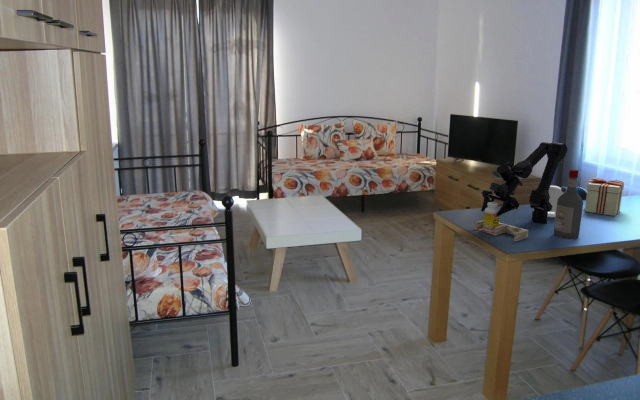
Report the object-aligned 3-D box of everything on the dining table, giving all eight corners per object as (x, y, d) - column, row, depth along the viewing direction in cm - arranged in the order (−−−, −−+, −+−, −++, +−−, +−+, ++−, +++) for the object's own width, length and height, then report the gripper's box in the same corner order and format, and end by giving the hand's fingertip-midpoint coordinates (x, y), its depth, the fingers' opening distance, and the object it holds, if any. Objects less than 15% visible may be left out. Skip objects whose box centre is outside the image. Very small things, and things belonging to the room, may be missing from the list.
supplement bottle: (492, 233, 242) (495, 205, 238) (480, 229, 246) (482, 203, 243) (500, 230, 246) (503, 203, 243) (488, 227, 251) (490, 200, 247)
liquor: (566, 239, 234) (574, 172, 227) (550, 234, 242) (557, 168, 235) (581, 237, 238) (590, 171, 230) (565, 231, 246) (573, 167, 238)
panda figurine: (563, 213, 276) (567, 184, 273) (562, 218, 267) (565, 189, 263) (539, 210, 282) (542, 182, 278) (536, 215, 272) (539, 186, 268)
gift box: (620, 209, 285) (625, 177, 281) (618, 217, 270) (622, 183, 265) (585, 204, 294) (589, 174, 289) (581, 212, 279) (585, 179, 274)
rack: (527, 237, 237) (528, 230, 236) (516, 241, 232) (516, 233, 231) (486, 226, 254) (486, 219, 253) (474, 229, 248) (475, 222, 248)
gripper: (485, 172, 250) (466, 198, 247) (517, 180, 234) (496, 207, 231) (496, 187, 255) (477, 212, 253) (528, 195, 239) (508, 222, 237)
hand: (489, 213), depth 243 cm, fingers open, 9 cm apart
